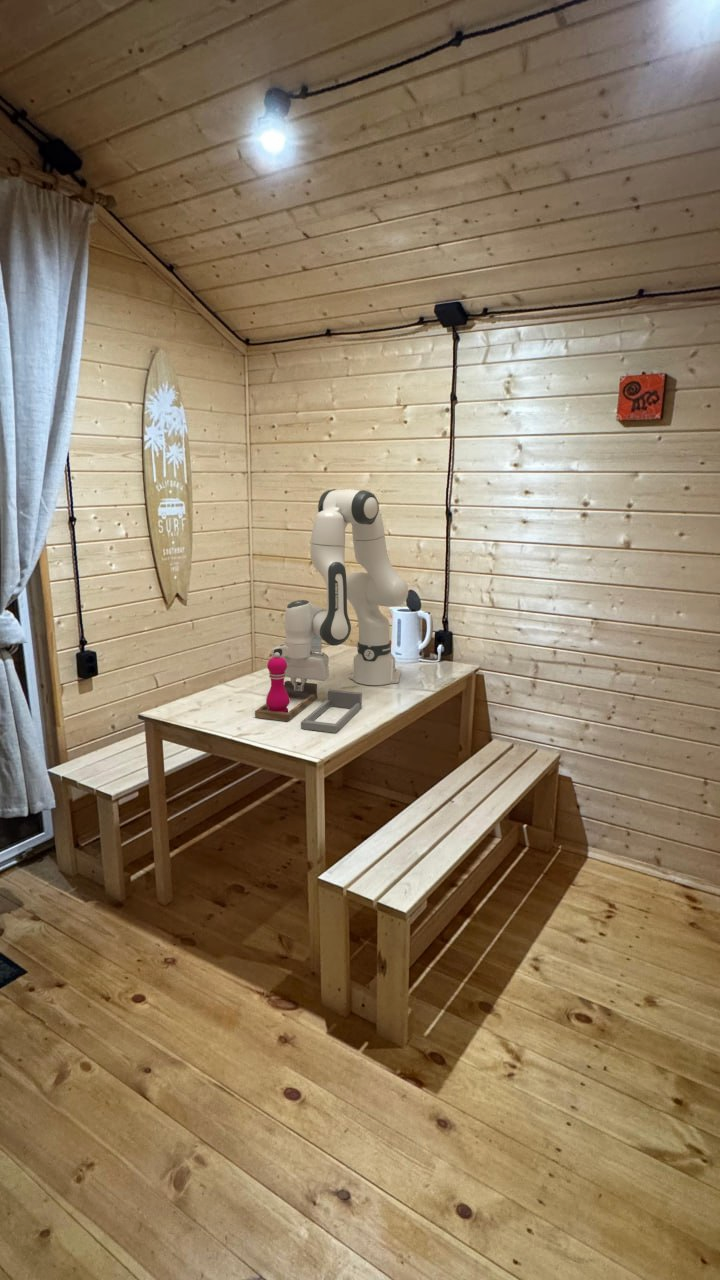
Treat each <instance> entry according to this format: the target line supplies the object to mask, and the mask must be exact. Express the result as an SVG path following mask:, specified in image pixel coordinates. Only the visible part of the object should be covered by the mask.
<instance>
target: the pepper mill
mask: <svg viewBox="0 0 720 1280" xmlns="http://www.w3.org/2000/svg"><path fill="white" fill-rule="evenodd" d="M266 668H267V670H268V672H269V671H270V673H268V675H269V677H268V678H269V679H270V689H269V691H268V693H267V696H266V698H265V699H266V700H265V701H266V703H265V704H267V706H268V707H269V709H268V710H269V711H277V712H286V713H288V712H289V709H288V706H289V705H290V702H291V700H290V697H289V696H288V693H287V691H286V689H285V686H284V682H285V678H287V677H286V676H285V674H286V673H285V672H284V671H285V670H286V669H287V662H286V661H285V659H283V658H281V657H280V654H279V653H278V652H276V653H275V654H274V657H273V658H271V659H270V658H269V660H268V661H267V666H266Z"/></svg>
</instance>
